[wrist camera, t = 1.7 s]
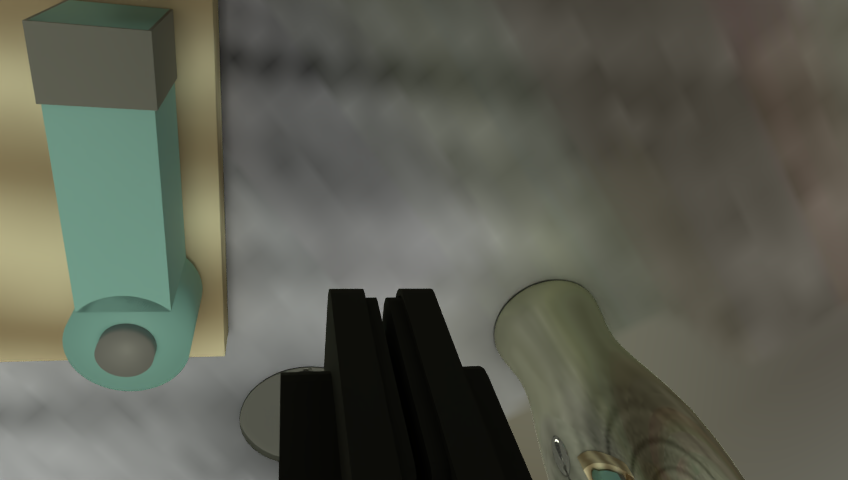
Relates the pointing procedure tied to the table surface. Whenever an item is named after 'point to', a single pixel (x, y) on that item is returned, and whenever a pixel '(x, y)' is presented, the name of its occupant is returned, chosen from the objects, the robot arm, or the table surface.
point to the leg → (117, 187)
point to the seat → (36, 198)
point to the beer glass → (599, 396)
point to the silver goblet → (265, 415)
